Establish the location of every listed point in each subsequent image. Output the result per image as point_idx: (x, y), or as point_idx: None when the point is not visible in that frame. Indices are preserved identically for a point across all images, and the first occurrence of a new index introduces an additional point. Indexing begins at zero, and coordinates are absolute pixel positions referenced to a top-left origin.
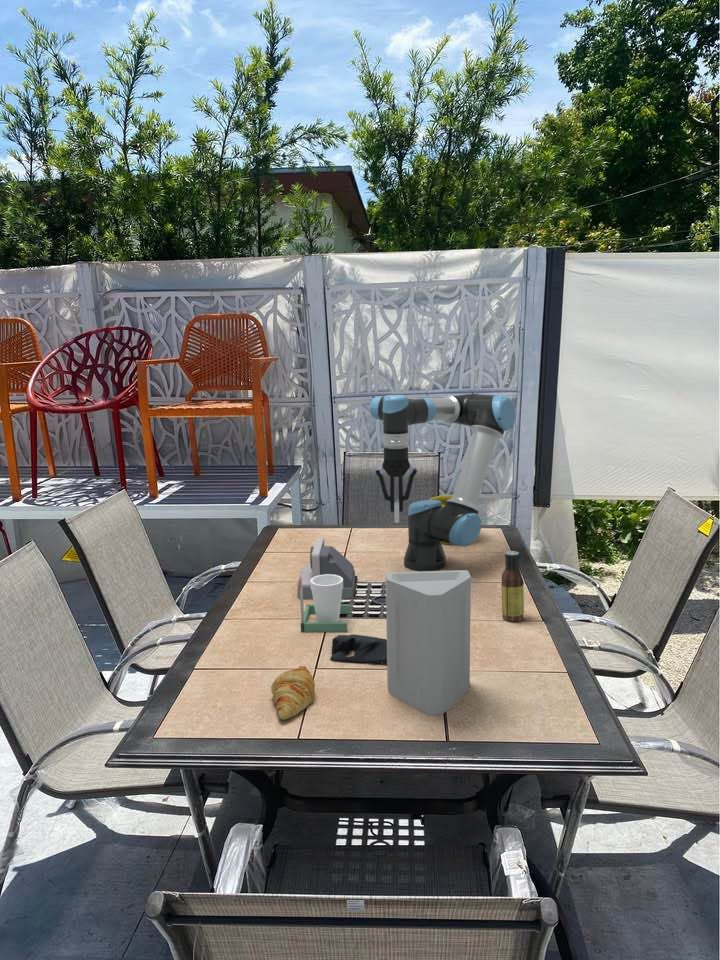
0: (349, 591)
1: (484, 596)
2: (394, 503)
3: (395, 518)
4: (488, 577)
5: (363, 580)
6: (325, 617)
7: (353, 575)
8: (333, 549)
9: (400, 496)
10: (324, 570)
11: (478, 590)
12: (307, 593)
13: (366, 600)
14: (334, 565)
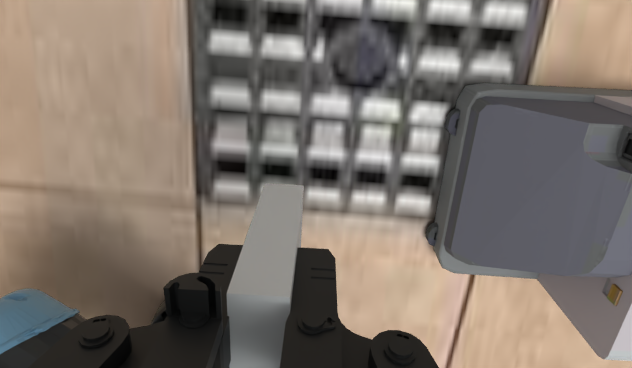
0: (479, 89)
1: (19, 67)
2: (287, 288)
3: (292, 201)
4: (23, 224)
5: (406, 231)
6: None
7: (452, 205)
8: (577, 254)
9: (181, 360)
10: (618, 116)
11: (44, 122)
12: (627, 93)
13: (416, 61)
14: (587, 119)
